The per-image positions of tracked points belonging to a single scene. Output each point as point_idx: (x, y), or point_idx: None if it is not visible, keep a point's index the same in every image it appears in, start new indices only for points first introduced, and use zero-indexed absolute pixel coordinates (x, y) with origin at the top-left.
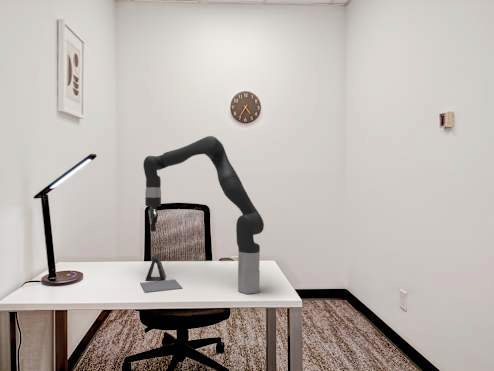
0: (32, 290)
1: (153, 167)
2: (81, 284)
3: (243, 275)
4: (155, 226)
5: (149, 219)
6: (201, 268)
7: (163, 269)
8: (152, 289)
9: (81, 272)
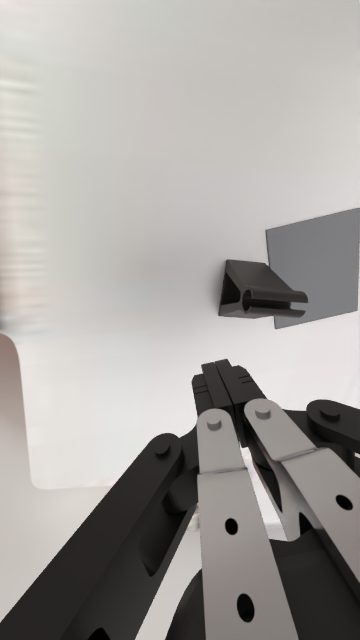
0: (263, 504)
1: None
2: None
3: None
4: (239, 380)
5: (155, 522)
6: (121, 109)
7: (236, 269)
8: (345, 293)
9: None
